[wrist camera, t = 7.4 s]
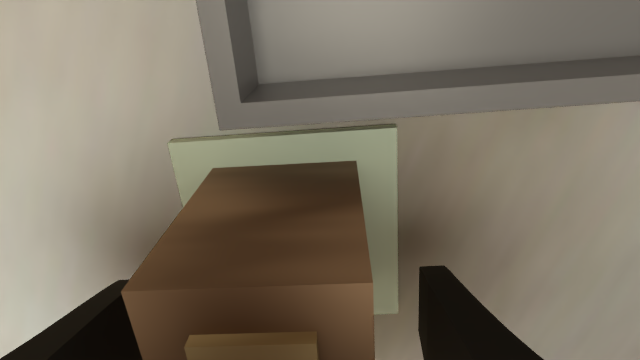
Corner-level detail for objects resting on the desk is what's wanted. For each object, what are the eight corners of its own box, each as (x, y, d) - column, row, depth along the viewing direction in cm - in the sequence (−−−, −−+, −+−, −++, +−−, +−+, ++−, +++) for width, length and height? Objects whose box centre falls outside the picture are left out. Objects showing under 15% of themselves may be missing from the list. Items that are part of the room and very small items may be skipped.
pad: (395, 124, 12) (397, 127, 12) (396, 306, 15) (398, 313, 15) (172, 139, 13) (167, 143, 13) (212, 313, 16) (209, 321, 15)
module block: (356, 160, 13) (374, 294, 7) (360, 280, 14) (378, 467, 9) (212, 168, 13) (112, 303, 7) (234, 284, 15) (168, 469, 9)
